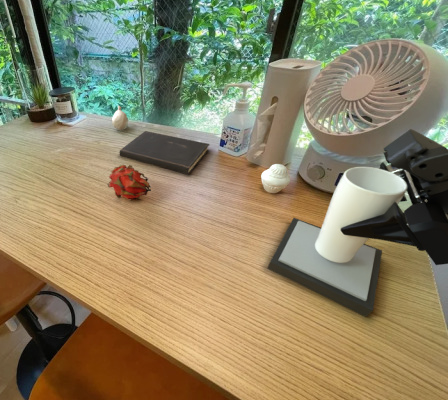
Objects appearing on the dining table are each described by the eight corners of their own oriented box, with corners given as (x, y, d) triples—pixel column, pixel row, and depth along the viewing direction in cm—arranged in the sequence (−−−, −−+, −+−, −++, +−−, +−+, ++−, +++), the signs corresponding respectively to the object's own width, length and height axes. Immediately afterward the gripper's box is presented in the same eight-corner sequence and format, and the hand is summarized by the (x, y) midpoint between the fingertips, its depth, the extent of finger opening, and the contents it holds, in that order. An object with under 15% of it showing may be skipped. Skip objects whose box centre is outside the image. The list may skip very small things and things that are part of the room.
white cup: (330, 272, 40) (376, 199, 31) (299, 241, 46) (331, 171, 36) (368, 262, 41) (424, 188, 32) (333, 233, 46) (373, 162, 37)
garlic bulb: (132, 126, 98) (130, 105, 93) (123, 133, 94) (121, 111, 89) (117, 124, 101) (115, 104, 96) (108, 130, 97) (106, 109, 92)
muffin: (258, 180, 66) (266, 156, 61) (285, 184, 63) (295, 160, 59) (256, 194, 61) (264, 169, 57) (285, 199, 59) (295, 174, 55)
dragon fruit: (111, 189, 70) (148, 209, 65) (94, 189, 62) (134, 211, 57) (123, 160, 68) (162, 178, 63) (107, 156, 60) (150, 176, 56)
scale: (376, 257, 45) (384, 248, 44) (365, 317, 38) (374, 308, 36) (290, 224, 53) (294, 215, 52) (267, 268, 45) (270, 259, 44)
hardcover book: (145, 136, 90) (145, 130, 89) (208, 150, 79) (209, 143, 78) (119, 157, 80) (119, 150, 79) (187, 175, 70) (188, 168, 68)
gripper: (446, 88, 32) (312, 151, 44) (519, 155, 20) (308, 217, 32) (487, 154, 34) (347, 197, 46) (579, 253, 22) (356, 277, 34)
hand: (340, 217), depth 39 cm, fingers closed on white cup, 6 cm apart
